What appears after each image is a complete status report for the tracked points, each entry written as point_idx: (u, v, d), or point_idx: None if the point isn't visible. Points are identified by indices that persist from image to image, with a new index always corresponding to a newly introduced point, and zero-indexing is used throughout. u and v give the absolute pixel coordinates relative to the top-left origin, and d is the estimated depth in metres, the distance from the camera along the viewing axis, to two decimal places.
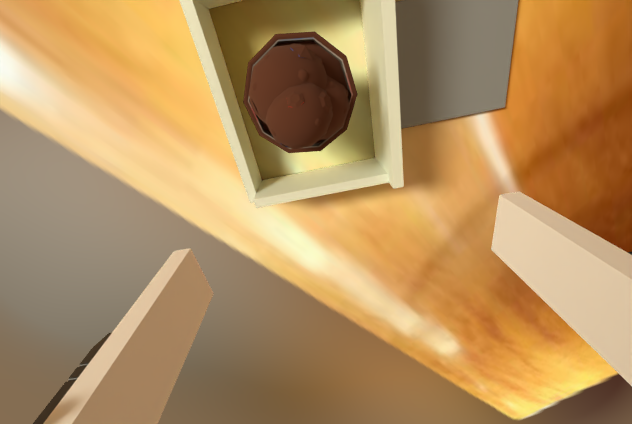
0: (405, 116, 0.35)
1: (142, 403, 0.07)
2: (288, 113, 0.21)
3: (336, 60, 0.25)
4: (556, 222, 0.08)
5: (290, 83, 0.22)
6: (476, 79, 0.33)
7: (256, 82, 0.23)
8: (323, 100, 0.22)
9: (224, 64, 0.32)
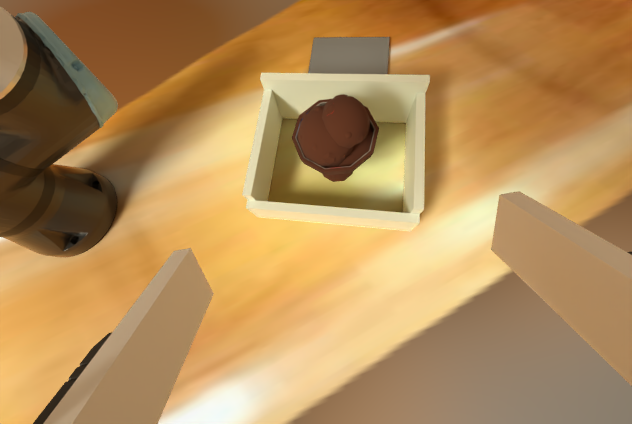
0: None
1: (142, 403, 0.07)
2: (337, 113, 0.28)
3: None
4: (556, 222, 0.08)
5: (320, 116, 0.30)
6: (364, 54, 0.48)
7: (312, 144, 0.31)
8: (337, 96, 0.30)
9: None
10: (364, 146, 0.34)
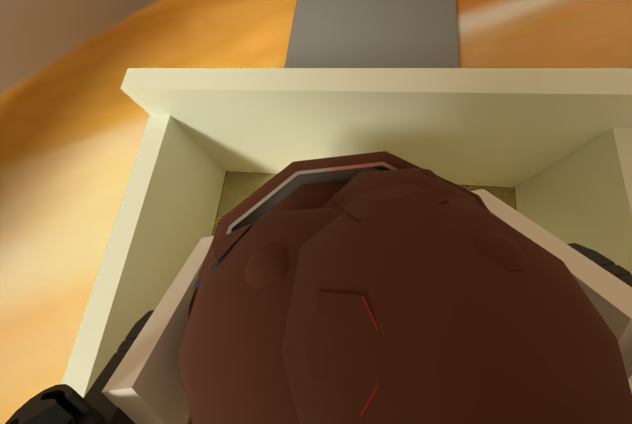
0: None
1: None
2: None
3: (298, 190, 0.10)
4: (509, 216, 0.09)
5: (269, 336, 0.05)
6: (404, 30, 0.22)
7: None
8: (383, 202, 0.05)
9: None
10: None
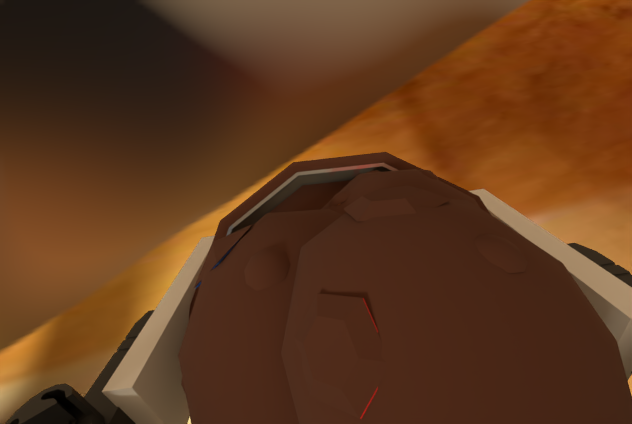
0: None
1: None
2: None
3: (298, 191, 0.10)
4: (509, 216, 0.09)
5: (270, 338, 0.05)
6: None
7: None
8: (383, 204, 0.05)
9: None
10: None
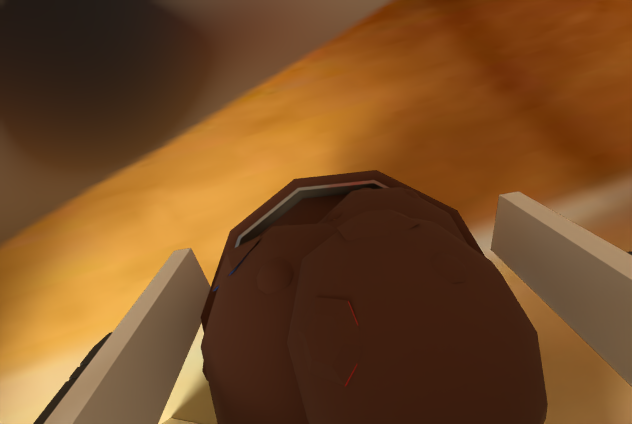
0: None
1: (142, 403, 0.08)
2: (378, 404, 0.04)
3: (299, 204, 0.12)
4: (555, 222, 0.08)
5: (278, 332, 0.06)
6: None
7: None
8: (366, 226, 0.06)
9: None
10: None
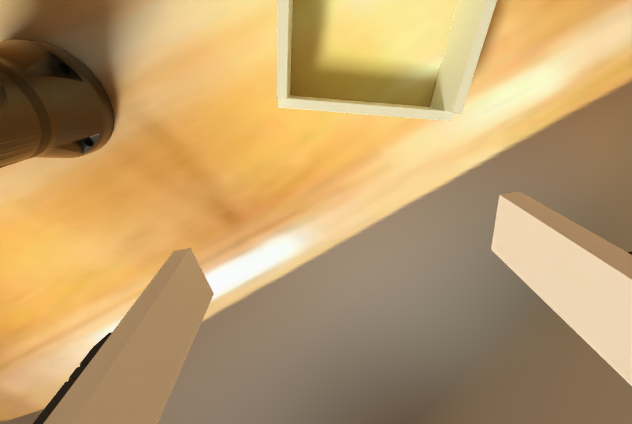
0: None
1: (142, 403, 0.07)
2: None
3: None
4: (556, 222, 0.08)
5: None
6: None
7: None
8: None
9: None
10: None
